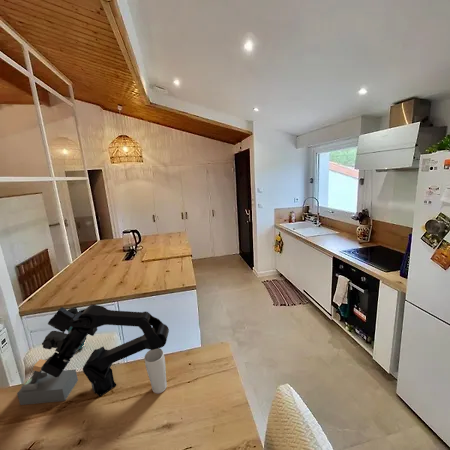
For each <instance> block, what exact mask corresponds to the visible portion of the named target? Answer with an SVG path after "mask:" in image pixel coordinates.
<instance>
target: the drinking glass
mask: <svg viewBox="0 0 450 450" xmlns="http://www.w3.org/2000/svg"><path fill="white" fill-rule="evenodd" d="M144 364H145V369H146V373H147V376H148V378H149V382H150V386H151V390H152V392H153V393H154V394H161V393H163V392H164V391H165V390H166V389H167V387H168V383H167V373H166V371H167V370H166V369H167V368H166V358H165V353H164V350H163V349H161V348H158V349H154V350H150V349H149V350H148V351H147V352H146V353H145V354H144Z"/></svg>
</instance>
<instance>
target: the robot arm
mask: <svg viewBox="0 0 450 450" xmlns="http://www.w3.org/2000/svg"><path fill="white" fill-rule="evenodd" d="M47 325H49V326H51V328H52V327H53V328H54V329H57V330H58V331H57V330H51V331H49V333H48V334H47V335H46V336H45V338H44V340H43V342H41V345H42V348H43V349H46V350H52V349H55V350H54V351H55V352H54V353H53V354H52V355H51V356H49V357H48V358H47V359H46V362H45V363H44V365H43V366H42V367H41V370H42V371H44V372H46V373H48V374H50V375H52V376H54V377H59V376H60V374H61V373H62V371H64V370H65V369H66V368H67V366H68V364H69V363H70V362H71V359H72V358H73V357H74V356H75V355H76V353H77V351H78V350H79V349H78V348H79V347H80V346H81V345H82V344H83V343H84V341H85V340H86V341H87V336H88V335H89V336H91V337H94V336H95V334H96V332H97V331H98V328H99V327H102V326H119V327H120V326H121V327H122V326H123V327H136V328H137V327H138V328H139V329H140V330H141V331H142V333H143V335H141V336H138V337H136V338H134V339H132V340H128V341H126V342H124V343H122V344H120V345H118V346H115V347H113V348H111V349H106V348H105V347H104V346H101V347H100V348H97V349H93V351H92V352H91V354H90V355H89V357H88V358H87V360H86V361H85V364H84V365H83V366H82V372H83V374H84V375H85V377H86V378H87V380H88V381H89V383H91V387H92V392H93V393H94V394H96V396H98V397H99V398H101V397H102V396H103V395H105V394H106V393H108V392H109V391H110V390H112V389H113V388H115V387H116V386H117V383H116V382H115V379H114V374H113V369H112V368H111V367H112V365H113V363H116V362H119V361H121V360H123V359H125V358H127V357H128V358H129V357H130V356H133V355H134V354H137V353H140V352H142V351H144V350H149V351H150V350H154V349H158V348H159V349H161V348H163V347H165V345H166V343H167V341H168V340H167V339H168V335H169V331H170V330H169V327H168V325H167V324H165V323H163V322H162V321H161V319H159V318H157V317H155V316H153V315H152V314H151V313H150V312H149V311H142V312H141V311H140V312H139V311H128V310H127V311H125V310H111V309H107V307H104V306H102V305H99V304H91V305H89V306H87V307H86V308H84V309H80V310H79V311H78V313H77V314H76V315H75V314H73V313H71V312H69V311H68V309H66V308H64V307H63V306H62V307H60V308H58V310H57V311H56V313H55V314H54V315H53V316H52V317H51V318H50V319H49V320H48V322H47ZM71 327H73V328H72V329H71V331H70V332H69V333H68V330H69V329H70V328H71ZM66 331H67V333H65V332H66Z"/></svg>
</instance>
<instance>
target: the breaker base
mask: <svg viewBox="0 0 450 450" xmlns="http://www.w3.org/2000/svg"><path fill="white" fill-rule="evenodd" d="M33 374H34V372H32V375H31V377H29V378H28V380H27V381H25V383H24V384H22V385H21V388H20V389H19V390H18V391H17V392H16V394H17V398H18V402H19V405H20V406H23V405H24V406H25V405H34V404H44V403H56V402H65V401H66V400H67V398H68V397H69V395H70V393H71V392H72V390H73V389H74V388H75V386H76V384H77V383H78V381H79V379H78V373H77V369H75V368H74V369H66V370H65V369H64V370H63V371H62V373H61V374H60V376H59V377H54V376H52V375H50V374H48V373H46V372H44V371H41V375H40V378H39V379H38V380H37V382H36V383H35V384H31V381H32V377H33Z"/></svg>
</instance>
